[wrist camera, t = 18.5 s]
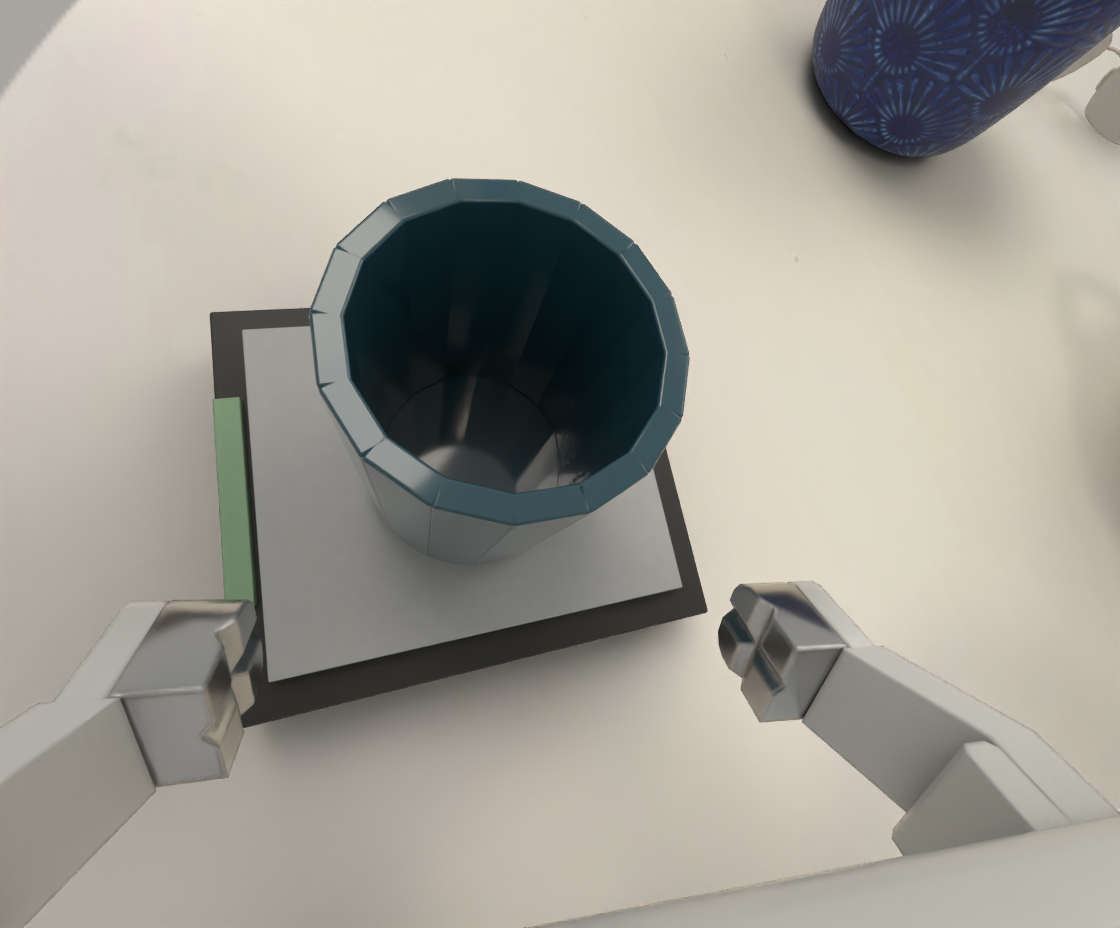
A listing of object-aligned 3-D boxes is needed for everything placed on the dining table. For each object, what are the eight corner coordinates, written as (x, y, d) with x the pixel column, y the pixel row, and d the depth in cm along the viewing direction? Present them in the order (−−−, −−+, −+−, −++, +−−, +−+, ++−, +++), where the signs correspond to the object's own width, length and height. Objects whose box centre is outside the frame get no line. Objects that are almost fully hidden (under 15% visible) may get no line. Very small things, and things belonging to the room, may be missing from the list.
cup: (380, 584, 14) (334, 558, 7) (354, 379, 16) (292, 173, 8) (588, 544, 16) (728, 489, 9) (549, 363, 18) (642, 181, 10)
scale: (262, 712, 16) (225, 736, 13) (236, 349, 18) (200, 300, 15) (674, 612, 20) (718, 612, 17) (605, 326, 22) (632, 284, 19)
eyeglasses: (982, 42, 36) (1048, -26, 32) (997, -1, 39) (1058, -67, 36) (1135, 162, 37) (1215, 109, 33) (1136, 110, 40) (1209, 56, 37)
